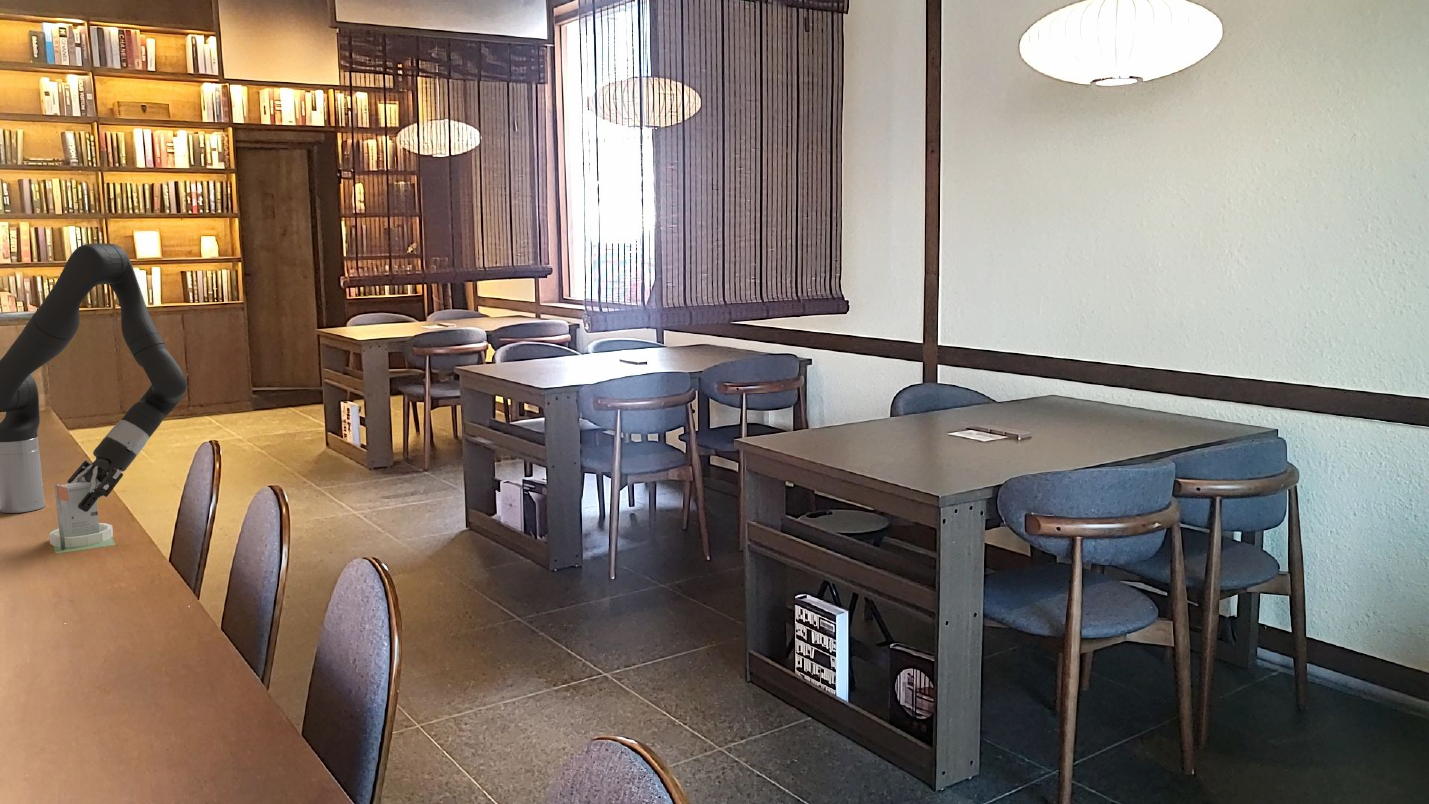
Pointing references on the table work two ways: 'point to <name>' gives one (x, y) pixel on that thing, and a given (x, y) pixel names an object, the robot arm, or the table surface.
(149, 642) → the table surface
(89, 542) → the cup
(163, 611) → the table surface
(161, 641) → the table surface
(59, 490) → the pin flag
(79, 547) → the felt mat
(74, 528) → the skincare box
